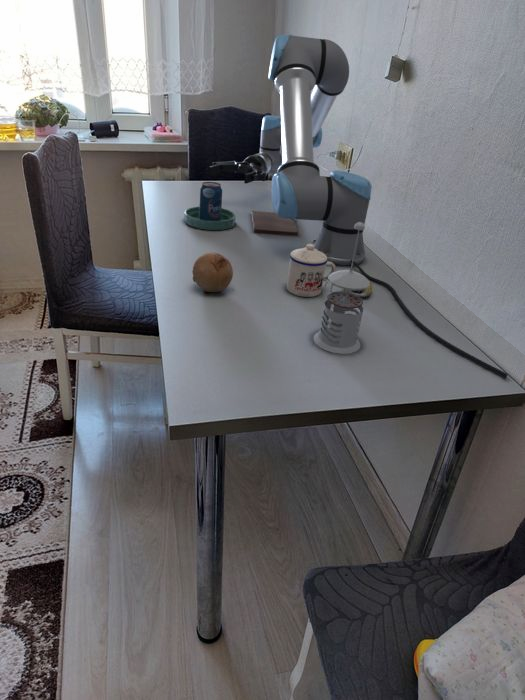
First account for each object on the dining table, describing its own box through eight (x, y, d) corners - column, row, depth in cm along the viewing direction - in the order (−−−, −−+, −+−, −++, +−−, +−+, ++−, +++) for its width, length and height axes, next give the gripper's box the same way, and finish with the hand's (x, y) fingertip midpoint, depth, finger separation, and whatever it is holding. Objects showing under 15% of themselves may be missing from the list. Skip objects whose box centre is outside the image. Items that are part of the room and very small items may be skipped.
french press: (328, 357, 98) (352, 232, 85) (301, 328, 106) (318, 212, 93) (370, 350, 101) (398, 230, 88) (340, 323, 110) (362, 210, 97)
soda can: (211, 226, 158) (213, 188, 152) (194, 221, 161) (195, 183, 155) (224, 222, 163) (227, 184, 157) (208, 217, 166) (209, 180, 160)
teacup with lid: (292, 298, 119) (298, 252, 113) (280, 282, 126) (286, 238, 120) (338, 297, 122) (347, 251, 116) (324, 281, 129) (332, 238, 123)
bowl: (235, 232, 156) (235, 223, 155) (182, 228, 155) (183, 219, 153) (234, 217, 170) (235, 208, 168) (186, 213, 168) (186, 204, 167)
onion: (224, 305, 119) (239, 277, 112) (185, 295, 116) (198, 265, 109) (225, 277, 125) (239, 248, 118) (188, 266, 122) (201, 236, 115)
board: (297, 236, 159) (298, 232, 158) (253, 232, 158) (254, 229, 157) (290, 217, 176) (291, 213, 175) (251, 214, 175) (251, 210, 174)
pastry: (348, 280, 131) (351, 267, 129) (373, 286, 129) (376, 272, 127) (342, 294, 123) (345, 280, 121) (369, 300, 122) (372, 286, 120)
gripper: (287, 183, 177) (260, 194, 161) (226, 170, 186) (194, 179, 169) (289, 161, 173) (262, 170, 157) (227, 148, 182) (195, 156, 165)
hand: (227, 175), depth 163 cm, fingers open, 13 cm apart
